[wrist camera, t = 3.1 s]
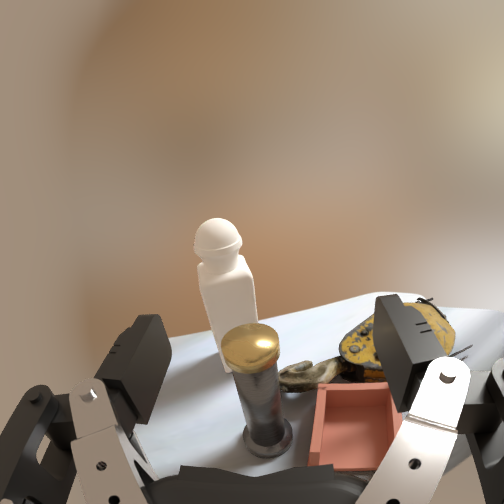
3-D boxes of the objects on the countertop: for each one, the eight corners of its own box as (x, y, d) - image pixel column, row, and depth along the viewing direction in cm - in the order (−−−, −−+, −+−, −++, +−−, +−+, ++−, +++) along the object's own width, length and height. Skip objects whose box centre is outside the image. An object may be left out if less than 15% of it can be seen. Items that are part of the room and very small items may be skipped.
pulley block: (258, 328, 42) (433, 280, 45) (261, 354, 45) (425, 306, 48) (286, 416, 30) (484, 336, 33) (286, 436, 33) (470, 361, 36)
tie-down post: (295, 422, 33) (287, 321, 27) (288, 460, 28) (277, 366, 22) (251, 418, 34) (227, 319, 28) (239, 454, 30) (206, 360, 23)
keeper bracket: (399, 395, 33) (416, 331, 29) (406, 467, 24) (436, 412, 19) (317, 397, 36) (316, 334, 32) (306, 470, 26) (306, 418, 22)
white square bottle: (267, 366, 43) (244, 221, 34) (223, 376, 42) (186, 233, 33) (257, 340, 49) (235, 207, 40) (217, 349, 48) (186, 217, 39)
